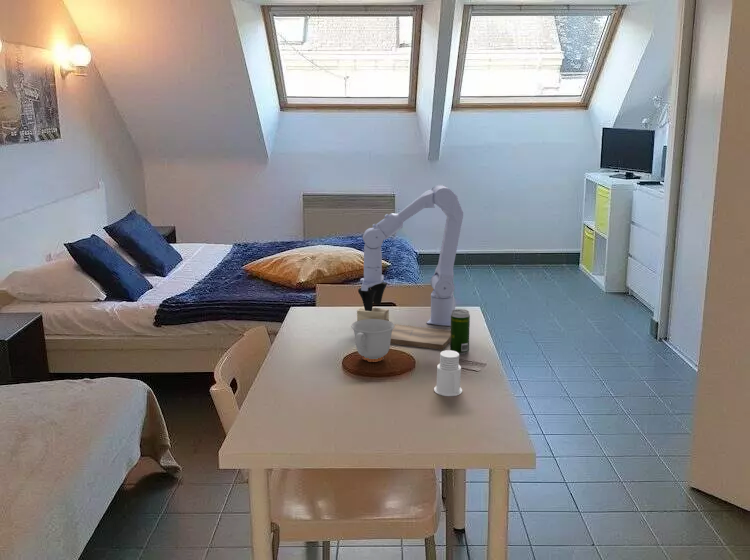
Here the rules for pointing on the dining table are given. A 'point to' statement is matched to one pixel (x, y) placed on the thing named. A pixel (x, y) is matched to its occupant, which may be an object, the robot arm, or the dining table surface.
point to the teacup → (372, 337)
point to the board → (420, 336)
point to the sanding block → (373, 314)
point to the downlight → (448, 374)
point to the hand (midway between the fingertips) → (372, 307)
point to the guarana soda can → (460, 331)
